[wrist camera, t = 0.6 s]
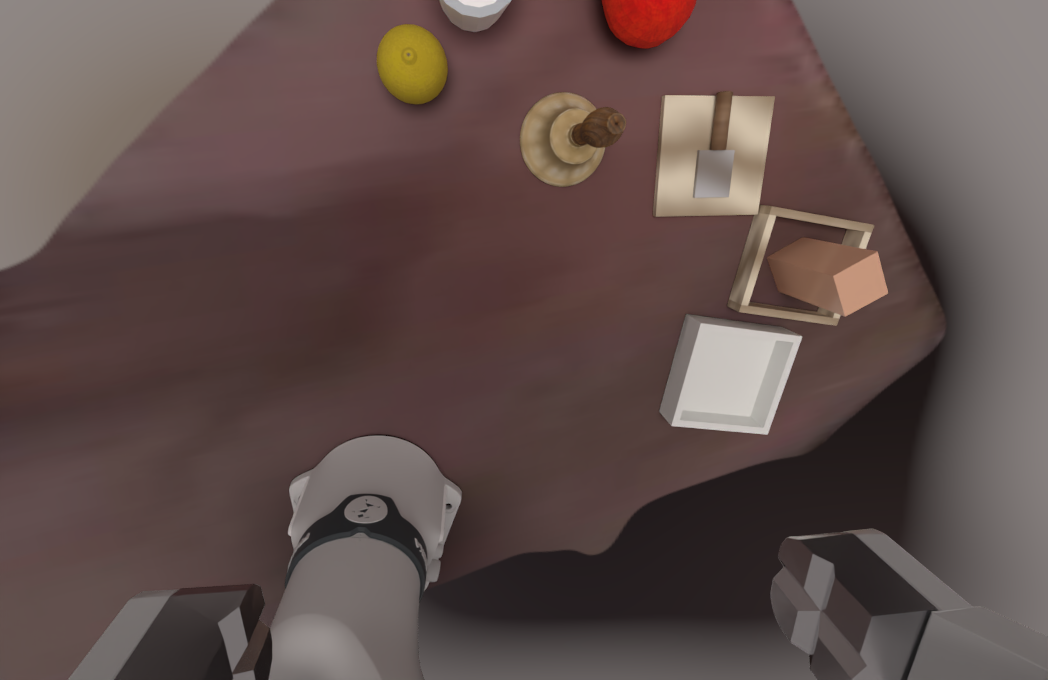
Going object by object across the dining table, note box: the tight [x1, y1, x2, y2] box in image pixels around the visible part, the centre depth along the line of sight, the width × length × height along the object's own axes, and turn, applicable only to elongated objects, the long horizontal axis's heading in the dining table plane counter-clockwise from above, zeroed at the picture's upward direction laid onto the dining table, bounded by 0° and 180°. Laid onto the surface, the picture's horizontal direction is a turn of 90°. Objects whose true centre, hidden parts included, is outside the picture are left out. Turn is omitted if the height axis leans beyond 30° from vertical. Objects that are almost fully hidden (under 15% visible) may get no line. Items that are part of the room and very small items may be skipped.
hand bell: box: [520, 92, 626, 187], centre depth 39 cm, size 8×8×16 cm
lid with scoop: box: [653, 91, 775, 217], centre depth 48 cm, size 11×11×2 cm
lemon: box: [377, 24, 448, 104], centre depth 40 cm, size 6×6×8 cm
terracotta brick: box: [767, 237, 888, 316], centre depth 49 cm, size 4×4×10 cm
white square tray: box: [659, 314, 802, 435], centre depth 55 cm, size 12×12×4 cm
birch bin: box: [727, 205, 874, 326], centre depth 53 cm, size 11×12×2 cm
